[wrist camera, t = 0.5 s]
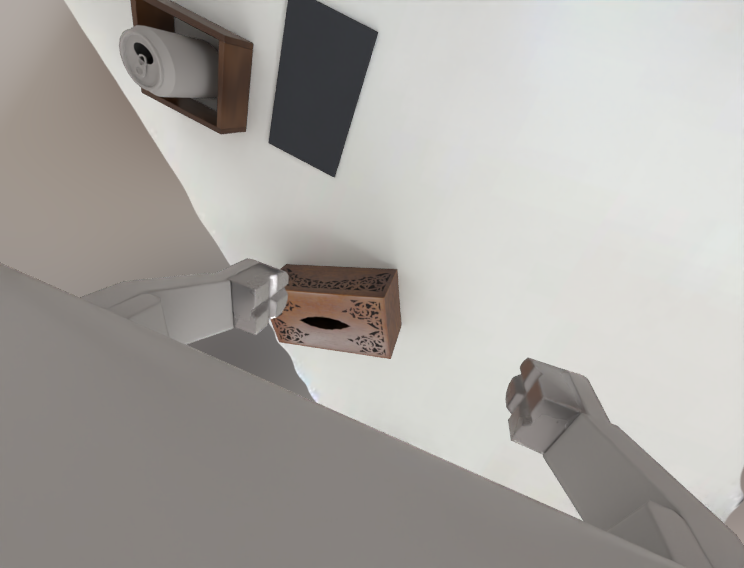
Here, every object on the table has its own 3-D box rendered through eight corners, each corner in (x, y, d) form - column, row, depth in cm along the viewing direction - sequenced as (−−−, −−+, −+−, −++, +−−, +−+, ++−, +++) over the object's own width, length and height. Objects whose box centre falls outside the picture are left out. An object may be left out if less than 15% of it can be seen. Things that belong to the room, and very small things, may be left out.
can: (234, 60, 43) (165, 47, 33) (225, 108, 47) (162, 109, 38) (193, 28, 42) (110, 6, 33) (187, 80, 47) (114, 74, 37)
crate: (168, -1, 41) (128, -15, 36) (253, 43, 41) (224, 34, 36) (174, 94, 49) (141, 92, 44) (245, 131, 48) (220, 134, 43)
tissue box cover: (301, 314, 69) (279, 342, 61) (286, 264, 62) (258, 287, 54) (401, 325, 61) (390, 358, 53) (397, 269, 54) (384, 297, 46)
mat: (291, -12, 36) (289, -13, 36) (378, 32, 36) (377, 31, 36) (269, 142, 48) (268, 143, 48) (334, 176, 48) (333, 177, 47)
